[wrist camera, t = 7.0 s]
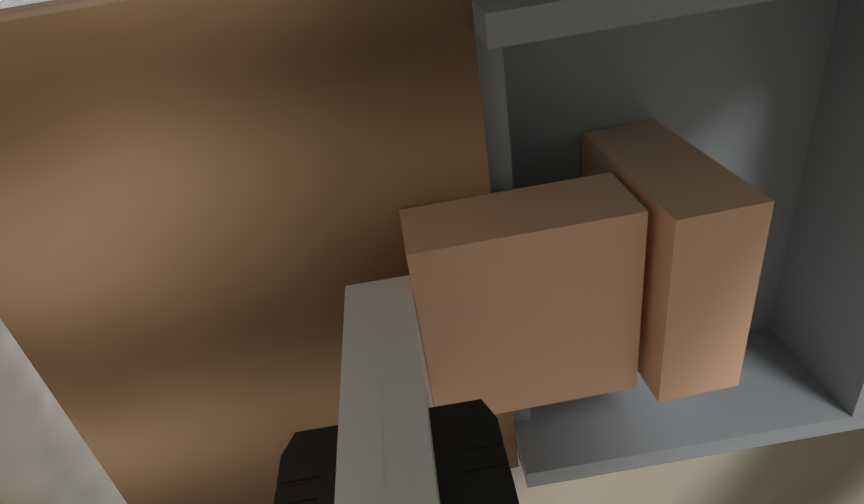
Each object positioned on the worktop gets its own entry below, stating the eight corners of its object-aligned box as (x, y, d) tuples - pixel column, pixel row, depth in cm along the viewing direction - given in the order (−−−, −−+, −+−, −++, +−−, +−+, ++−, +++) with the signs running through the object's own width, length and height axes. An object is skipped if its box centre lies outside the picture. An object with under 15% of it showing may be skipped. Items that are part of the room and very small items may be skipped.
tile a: (398, 209, 13) (406, 254, 12) (611, 172, 14) (647, 211, 12) (428, 369, 16) (438, 425, 14) (606, 336, 16) (636, 387, 15)
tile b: (676, 220, 11) (774, 201, 11) (582, 132, 16) (654, 118, 16) (658, 402, 14) (738, 385, 14) (581, 285, 18) (643, 272, 18)
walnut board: (-76, 22, 13) (-181, 53, 11) (446, -68, 13) (466, -58, 11) (173, 455, 21) (147, 532, 19) (500, 398, 21) (518, 466, 19)
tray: (451, -20, 14) (485, 13, 10) (866, -91, 14) (1056, -85, 10) (497, 378, 21) (527, 487, 17) (775, 329, 21) (867, 427, 17)
